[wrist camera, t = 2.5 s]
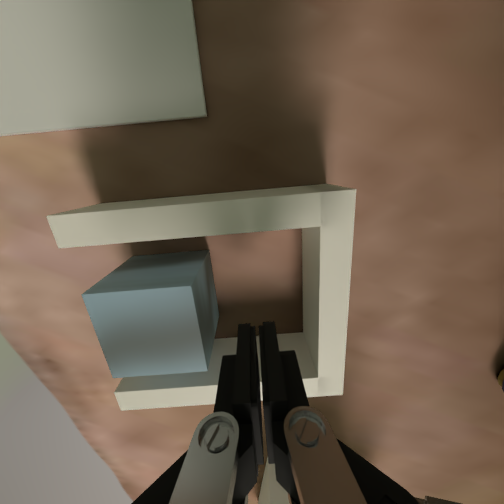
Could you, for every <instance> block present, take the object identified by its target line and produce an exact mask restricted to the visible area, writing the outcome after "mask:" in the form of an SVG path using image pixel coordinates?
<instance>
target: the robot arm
mask: <svg viewBox="0 0 504 504" xmlns="http://www.w3.org/2000/svg"><path fill="white" fill-rule="evenodd" d="M259 342H260V360H261V378H262V395H263V409H264V419H265V430H266V441H267V452H268V463H269V464H275V473H276V481H277V482H278V483H279V484H280V485H281V486H282V487H283V488H284V489H285V490H286V491H287V493H288V499H289V503H290V504H461V503H457V502H452V501H447V500H443V499H438V498H434V497H429V496H425V499H420V498H416V497H413V496H412V495H411V494H410V493H409V492H408V491H407V490H405V489H404V488H403V487H401V486H400V485H399V484H397V483H396V482H395V481H393V480H392V479H391V478H389V477H388V476H387V475H385V474H384V473H383V472H381V471H380V470H378V469H377V468H376V467H374V466H373V465H372V464H370V463H369V462H368V461H366V460H365V459H364V458H362V457H361V456H360V455H358V454H357V453H356V452H354V451H353V450H352V449H350V448H349V447H348V446H346V445H345V444H343V443H342V442H341V441H339V440H338V439H337V438H336V437H335V435H334V433H333V431H332V428H331V426H330V424H329V422H328V421H327V419H326V418H325V416H324V415H323V414H322V413H321V412H320V411H318V410H316V409H314V408H312V407H309V403H308V399H307V395H306V391H305V388H304V384H303V380H302V376H301V372H300V368H299V364H298V360H297V356H296V353H295V350H289V351H279V346H278V340H277V334H276V328H275V322H274V321H273V322H263V326H259ZM260 464H264V457H263V436H262V415H261V394H260V375H259V363H258V353H257V342H256V331H255V326H251V325H250V323H246V324H239V325H238V337H237V350H236V354H235V355H223V356H222V361H221V368H220V374H219V381H218V387H217V394H216V400H215V406H214V413H212V414H209V415H208V416H206V417H205V418H204V419H203V420H202V421H201V422H200V423H199V424H198V426H197V428H196V430H195V432H194V435H193V437H192V440H191V443H190V446H189V449H188V450H187V451H186V452H185V453H184V454H183V455H182V456H181V457H180V458H179V459H178V460H177V461H176V462H175V463H174V464H173V465H172V466H171V467H170V468H168V469H167V470H166V471H165V472H164V473H163V474H162V475H161V476H160V477H159V478H158V479H157V480H156V481H155V482H154V483H153V484H152V485H151V486H150V487H149V488H147V489H146V490H145V491H144V492H143V493H142V494H141V495H140V496H139V497H138V498H137V499H136V500H135V501H134V502H133V503H132V504H248V493H249V492H250V490H251V489H252V488H253V486H254V485H255V484H256V482H257V476H258V465H260Z"/></svg>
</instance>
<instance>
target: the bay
mask: <svg viewBox="0 0 504 504" xmlns="http://www.w3.org/2000/svg"><path fill="white" fill-rule="evenodd" d="M355 201H356V189H352V188H347V187H342V186H336V185H331V184H318V185H306V186H295V187H283V188H272V189H260V190H249V191H237V192H226V193H214V194H203V195H191V196H180V197H168V198H157V199H145V200H134V201H123V202H111V203H101V204H96V205H92V206H88V207H83V208H79V209H75V210H70V211H66V212H62V213H57V214H53V215H49V216H46V217H47V219H48V222H49V225H50V227H51V230H52V232H53V235H54V238H55V240H56V243H57V245H58V248H70V247H81V246H93V245H105V244H117V243H129V242H141V241H153V240H165V239H177V238H189V237H201V236H213V235H225V234H237V233H248V232H260V231H272V230H284V229H296V228H302V285H303V332H299V333H285V334H277V340H278V346H279V351H289V350H295V353H296V356H297V360H298V364H299V368H300V372H301V376H302V380H303V384H304V388H305V391H306V395H307V397H319V396H334V395H343V384H344V368H345V353H346V338H347V323H348V307H349V292H350V277H351V262H352V246H353V231H354V216H355ZM256 342H257V353H258V363H259V375H260V394H261V401H263V395H262V378H261V360H260V342H259V336H256ZM236 350H237V337H233V338H220V339H214V343H213V348H212V353H211V358H210V362H209V367H208V371H203V372H190V373H176V374H163V375H149V376H135V377H123V379H122V380H121V382H120V384H119V385H118V387H117V389H116V390H115V392H114V394H115V396H116V399H117V401H118V404H119V407H120V409H121V411H122V410H136V409H150V408H164V407H178V406H192V405H206V404H215V400H216V394H217V387H218V381H219V374H220V368H221V361H222V356H223V355H235V354H236Z"/></svg>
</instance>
